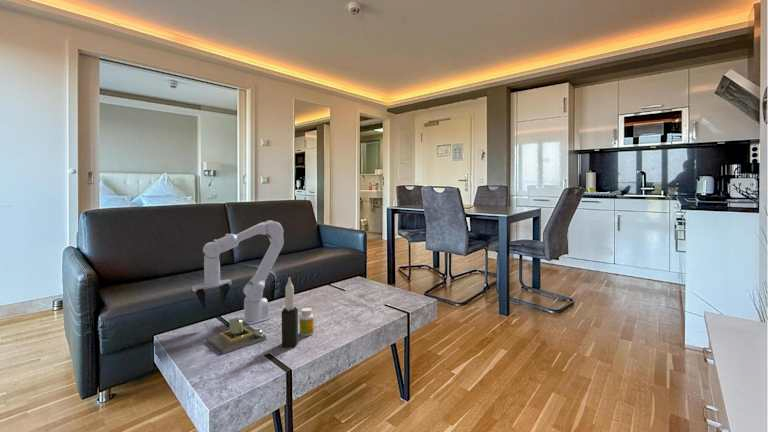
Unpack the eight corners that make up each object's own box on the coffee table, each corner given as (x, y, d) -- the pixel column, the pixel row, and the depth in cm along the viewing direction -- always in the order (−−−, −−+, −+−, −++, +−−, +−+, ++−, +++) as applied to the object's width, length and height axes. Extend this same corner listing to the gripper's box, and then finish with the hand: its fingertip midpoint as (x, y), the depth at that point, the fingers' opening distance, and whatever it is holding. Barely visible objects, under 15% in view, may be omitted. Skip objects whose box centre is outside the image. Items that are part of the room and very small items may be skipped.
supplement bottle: (299, 336, 133) (299, 312, 132) (299, 331, 138) (299, 307, 137) (314, 335, 134) (314, 311, 133) (313, 330, 139) (313, 306, 139)
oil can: (240, 337, 132) (239, 313, 131) (245, 340, 129) (245, 316, 128) (227, 341, 128) (227, 316, 128) (233, 344, 125) (232, 319, 125)
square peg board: (248, 329, 139) (248, 321, 139) (266, 339, 130) (266, 330, 129) (207, 341, 127) (206, 332, 127) (222, 354, 118) (222, 344, 118)
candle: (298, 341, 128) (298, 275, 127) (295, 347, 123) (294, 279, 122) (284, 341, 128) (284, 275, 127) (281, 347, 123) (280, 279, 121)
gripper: (196, 277, 131) (197, 311, 132) (234, 270, 142) (235, 303, 143) (190, 273, 136) (191, 307, 137) (227, 268, 146) (227, 299, 147)
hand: (213, 305), depth 140 cm, fingers open, 7 cm apart
